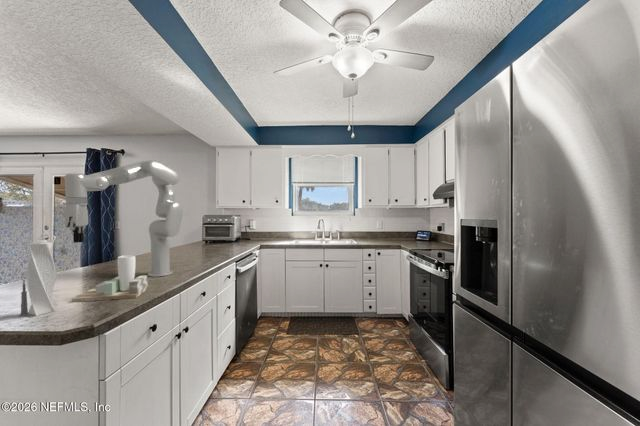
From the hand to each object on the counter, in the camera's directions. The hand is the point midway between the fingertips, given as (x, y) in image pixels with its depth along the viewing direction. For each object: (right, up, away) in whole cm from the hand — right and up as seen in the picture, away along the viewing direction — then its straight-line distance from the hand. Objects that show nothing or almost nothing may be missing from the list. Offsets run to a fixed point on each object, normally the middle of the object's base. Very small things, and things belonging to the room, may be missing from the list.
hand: (78, 242), depth 130 cm
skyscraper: (+8, -24, -26) cm, 36 cm away
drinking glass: (+23, -22, -2) cm, 31 cm away
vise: (+19, -23, -3) cm, 30 cm away
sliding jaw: (+17, -21, -4) cm, 27 cm away
